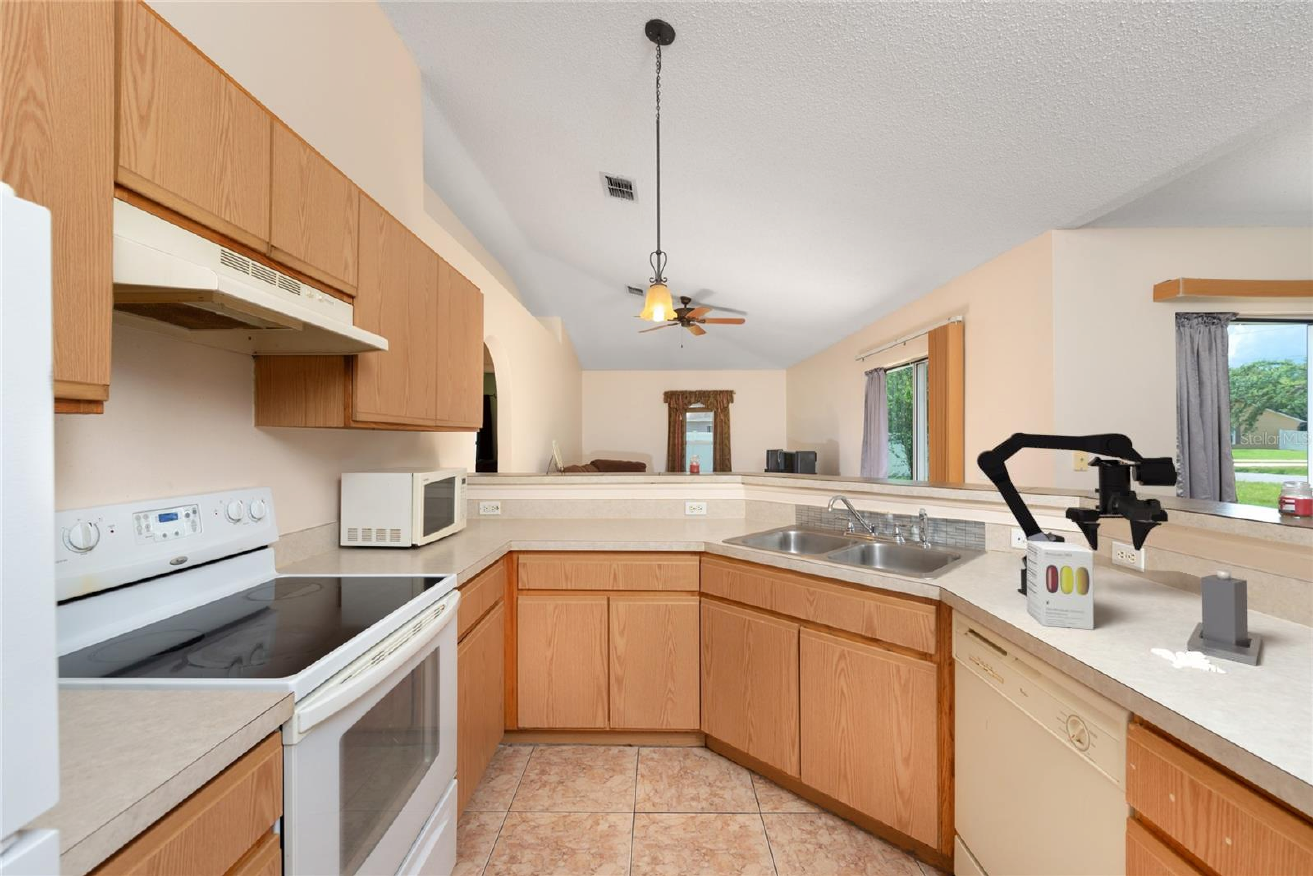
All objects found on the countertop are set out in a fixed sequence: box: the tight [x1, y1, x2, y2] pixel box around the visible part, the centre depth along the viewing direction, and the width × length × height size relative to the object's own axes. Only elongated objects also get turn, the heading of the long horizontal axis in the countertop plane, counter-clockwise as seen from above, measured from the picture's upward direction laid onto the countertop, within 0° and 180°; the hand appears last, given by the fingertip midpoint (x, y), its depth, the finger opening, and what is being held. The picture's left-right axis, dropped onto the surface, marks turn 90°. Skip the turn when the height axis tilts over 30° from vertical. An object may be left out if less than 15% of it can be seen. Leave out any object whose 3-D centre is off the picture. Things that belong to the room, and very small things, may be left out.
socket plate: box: [1186, 621, 1262, 667], centre depth 97 cm, size 16×8×2 cm, turn 128°
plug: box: [1201, 569, 1249, 648], centre depth 97 cm, size 4×4×14 cm
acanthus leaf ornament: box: [1150, 648, 1227, 674], centre depth 91 cm, size 8×7×2 cm
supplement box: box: [1026, 540, 1095, 631], centre depth 112 cm, size 10×9×17 cm
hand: (1116, 550), depth 121 cm, fingers open, 9 cm apart
